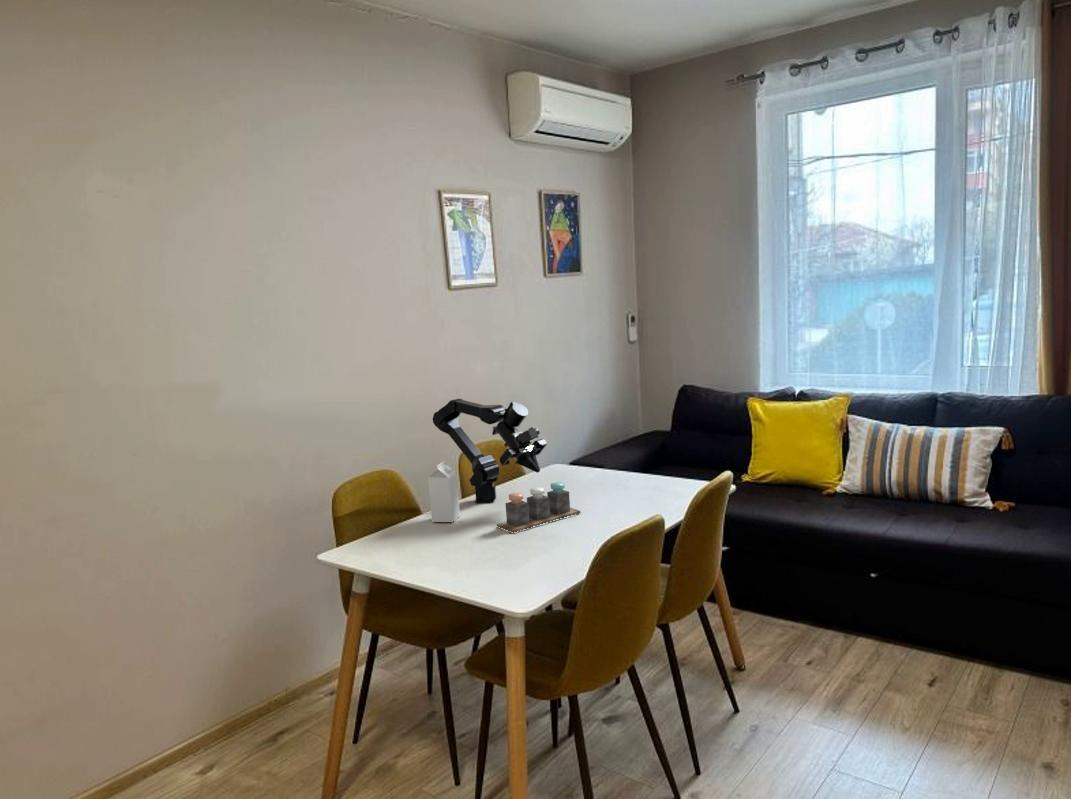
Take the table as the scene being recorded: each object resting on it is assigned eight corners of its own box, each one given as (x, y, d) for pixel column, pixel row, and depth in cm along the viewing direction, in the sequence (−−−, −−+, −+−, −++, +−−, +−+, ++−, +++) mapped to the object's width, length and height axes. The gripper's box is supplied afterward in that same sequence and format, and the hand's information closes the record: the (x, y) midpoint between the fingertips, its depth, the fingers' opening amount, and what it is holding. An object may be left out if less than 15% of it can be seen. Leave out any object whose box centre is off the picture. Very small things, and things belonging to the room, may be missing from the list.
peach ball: (514, 509, 218) (513, 497, 217) (506, 506, 222) (505, 494, 221) (526, 505, 221) (525, 494, 220) (518, 503, 224) (517, 491, 224)
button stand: (513, 533, 215) (511, 509, 214) (496, 527, 223) (495, 503, 222) (580, 513, 230) (579, 491, 229) (563, 508, 238) (561, 486, 236)
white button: (536, 503, 223) (535, 492, 222) (528, 500, 226) (527, 489, 226) (547, 500, 225) (547, 489, 224) (539, 497, 229) (538, 486, 228)
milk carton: (431, 523, 231) (426, 465, 228) (439, 516, 238) (434, 460, 235) (452, 523, 229) (447, 465, 226) (460, 516, 236) (455, 459, 233)
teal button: (556, 497, 227) (556, 486, 227) (548, 495, 231) (547, 484, 230) (567, 494, 230) (567, 483, 229) (559, 492, 233) (558, 481, 233)
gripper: (503, 425, 228) (532, 462, 222) (540, 415, 242) (569, 450, 236) (487, 447, 234) (515, 484, 229) (525, 436, 248) (552, 470, 243)
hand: (538, 471), depth 234 cm, fingers closed
